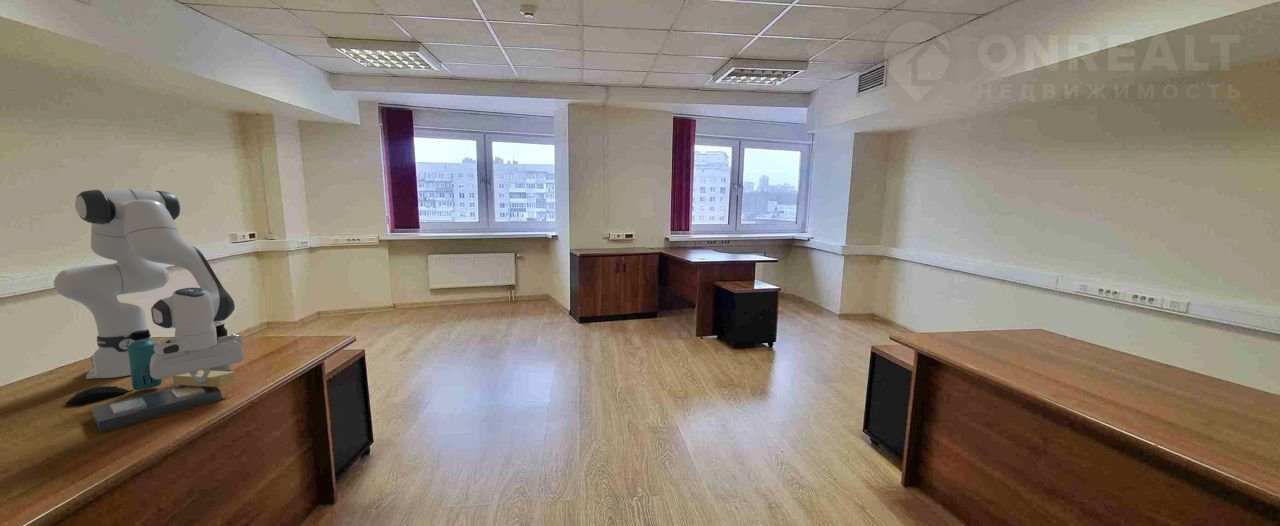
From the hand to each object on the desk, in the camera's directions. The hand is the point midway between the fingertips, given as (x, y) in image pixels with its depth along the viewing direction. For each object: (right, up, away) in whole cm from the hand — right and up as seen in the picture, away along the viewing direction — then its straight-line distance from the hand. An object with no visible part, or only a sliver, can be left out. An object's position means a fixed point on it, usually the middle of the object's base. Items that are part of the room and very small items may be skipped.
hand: (201, 383), depth 133 cm
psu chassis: (-9, -6, -4) cm, 11 cm away
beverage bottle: (-24, -4, +6) cm, 25 cm away
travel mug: (-18, -2, +22) cm, 29 cm away
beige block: (-4, -1, +4) cm, 6 cm away
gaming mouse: (-31, -5, +1) cm, 32 cm away
